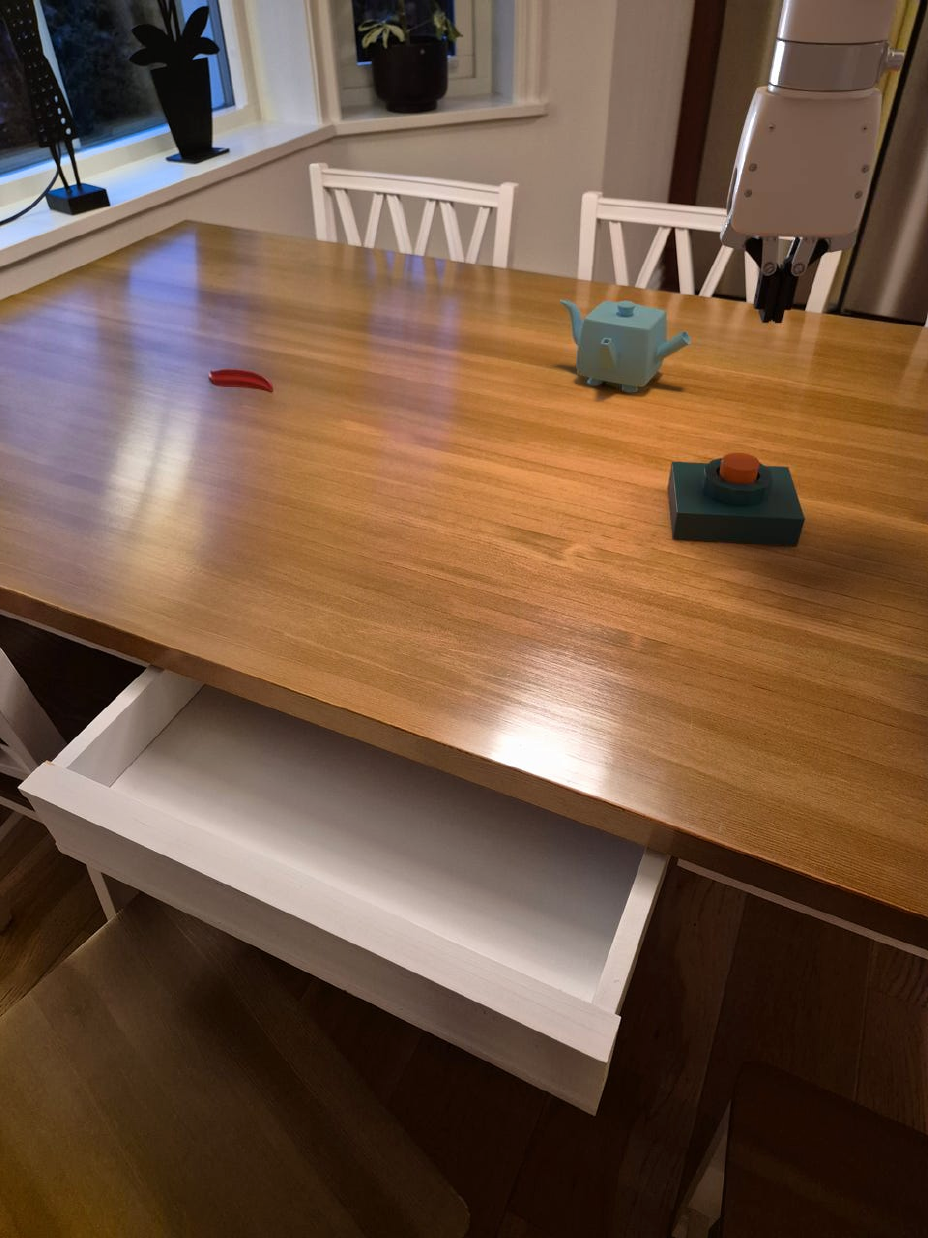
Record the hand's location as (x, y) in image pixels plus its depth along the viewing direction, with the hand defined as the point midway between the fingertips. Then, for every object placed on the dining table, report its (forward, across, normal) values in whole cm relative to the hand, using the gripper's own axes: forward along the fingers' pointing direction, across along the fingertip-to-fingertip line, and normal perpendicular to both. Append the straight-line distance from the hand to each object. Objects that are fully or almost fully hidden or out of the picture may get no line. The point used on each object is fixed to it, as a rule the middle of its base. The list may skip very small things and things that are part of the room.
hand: (769, 316), depth 73 cm
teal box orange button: (+20, 0, 0) cm, 21 cm away
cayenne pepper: (+21, +62, -27) cm, 71 cm away
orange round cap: (+16, 0, 0) cm, 16 cm away
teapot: (+21, +11, -32) cm, 40 cm away
